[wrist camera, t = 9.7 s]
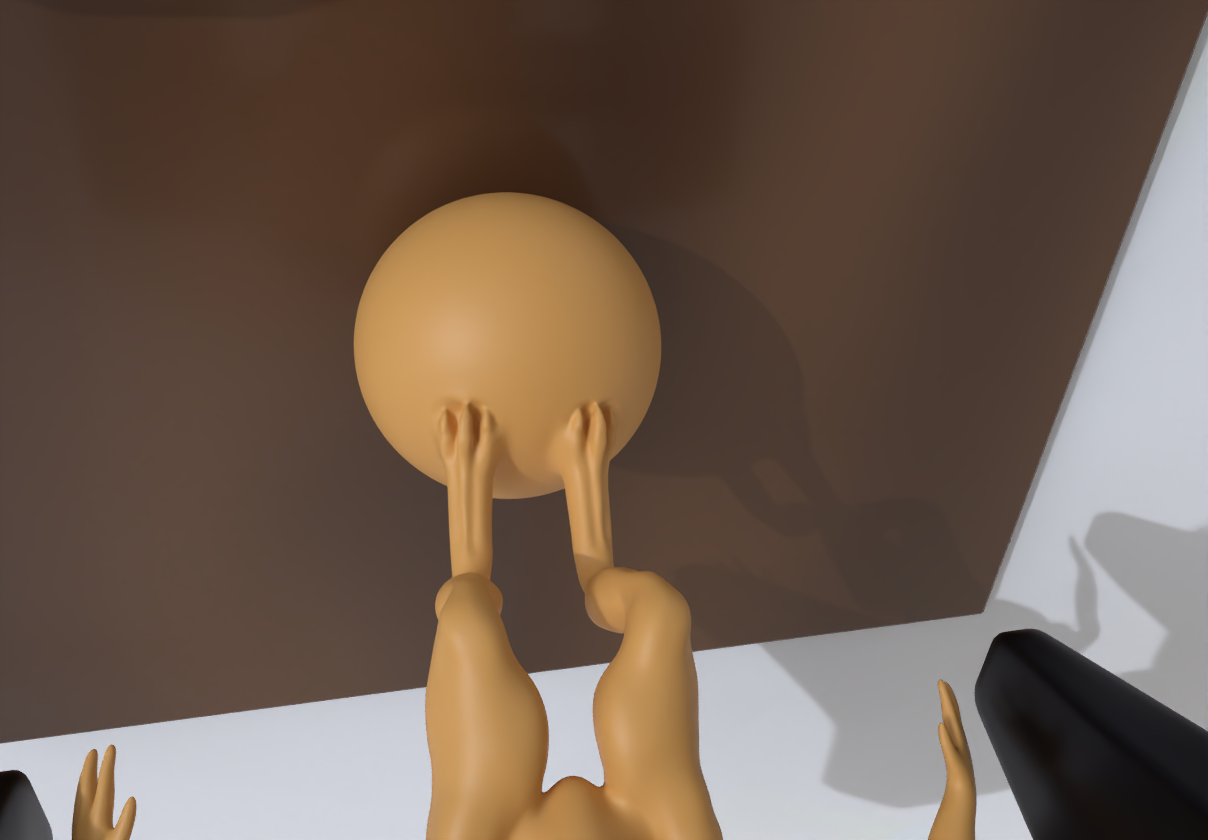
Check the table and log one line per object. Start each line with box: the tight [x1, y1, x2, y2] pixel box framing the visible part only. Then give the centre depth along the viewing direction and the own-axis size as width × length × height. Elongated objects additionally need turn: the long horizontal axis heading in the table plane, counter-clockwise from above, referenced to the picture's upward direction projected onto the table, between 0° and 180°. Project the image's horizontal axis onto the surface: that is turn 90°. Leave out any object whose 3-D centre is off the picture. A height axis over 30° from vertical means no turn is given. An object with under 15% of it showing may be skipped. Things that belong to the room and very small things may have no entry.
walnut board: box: [0, 0, 1208, 743], centre depth 15 cm, size 20×13×1 cm, turn 88°
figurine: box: [72, 192, 976, 840], centre depth 9 cm, size 8×6×12 cm
